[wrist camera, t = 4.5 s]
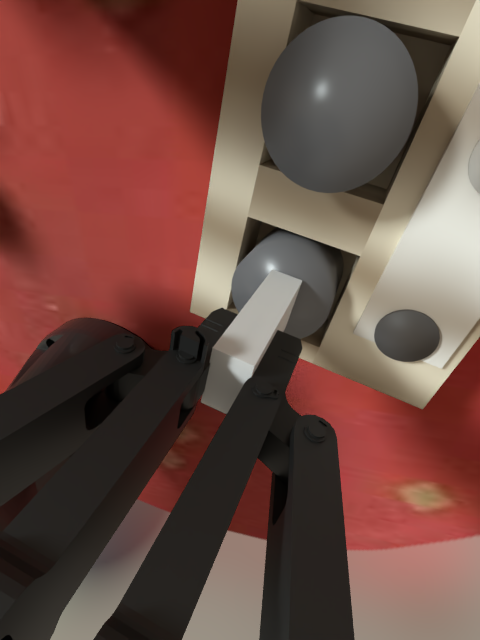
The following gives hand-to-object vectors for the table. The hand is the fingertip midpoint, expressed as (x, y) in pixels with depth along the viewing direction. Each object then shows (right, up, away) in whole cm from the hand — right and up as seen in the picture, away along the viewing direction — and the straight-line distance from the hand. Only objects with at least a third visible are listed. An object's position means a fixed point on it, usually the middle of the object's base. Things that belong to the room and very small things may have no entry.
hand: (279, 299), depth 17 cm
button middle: (+3, +8, -2) cm, 9 cm away
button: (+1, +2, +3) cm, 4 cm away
